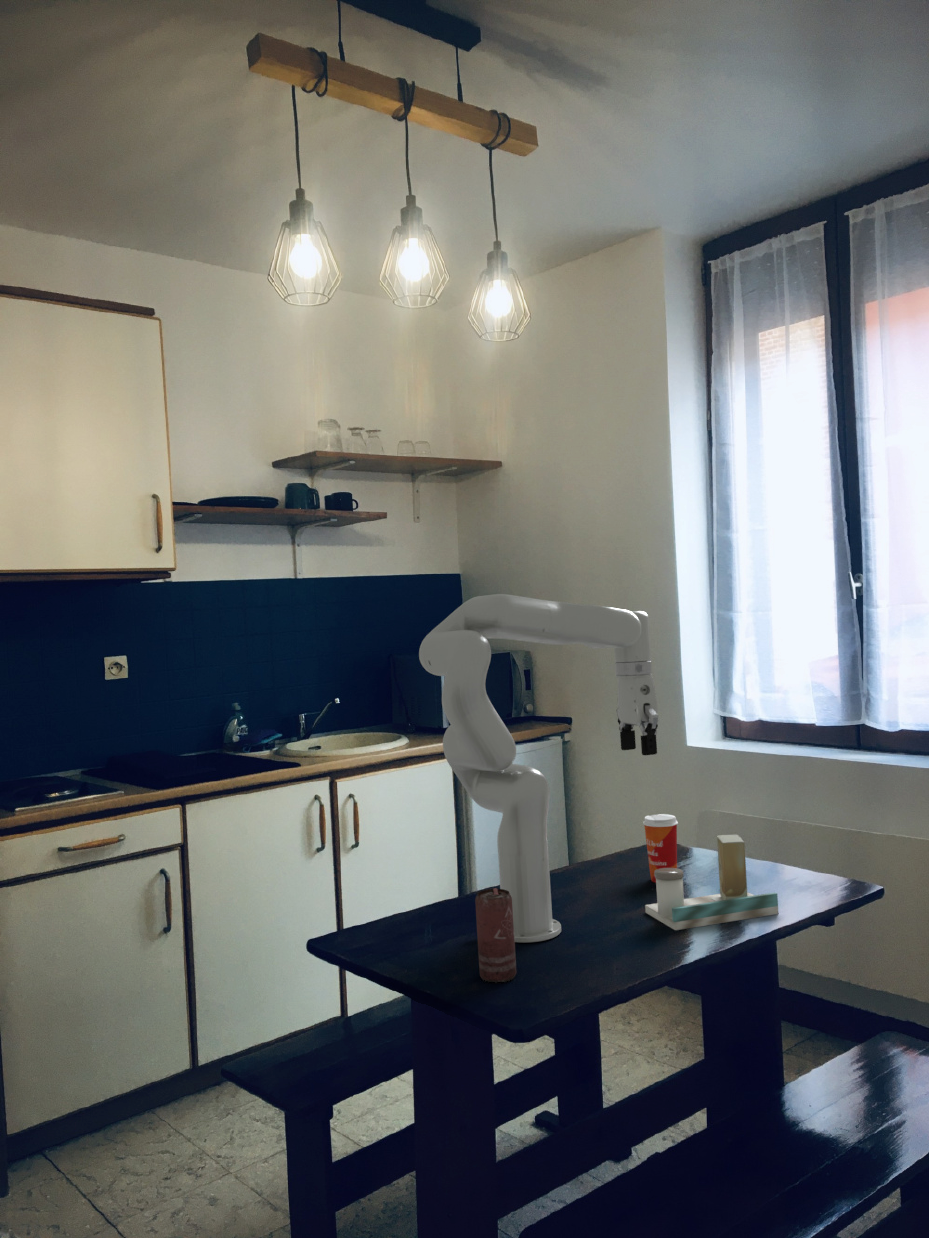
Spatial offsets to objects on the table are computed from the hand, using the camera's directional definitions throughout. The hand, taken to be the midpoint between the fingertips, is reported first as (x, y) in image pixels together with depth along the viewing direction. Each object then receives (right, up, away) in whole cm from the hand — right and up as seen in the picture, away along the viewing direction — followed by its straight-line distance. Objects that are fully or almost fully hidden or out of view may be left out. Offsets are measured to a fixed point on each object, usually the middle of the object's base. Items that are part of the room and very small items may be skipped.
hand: (638, 752), depth 196 cm
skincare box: (+17, -28, -11) cm, 34 cm away
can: (-31, -32, -40) cm, 59 cm away
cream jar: (+3, -29, -17) cm, 33 cm away
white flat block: (+12, -30, -13) cm, 34 cm away
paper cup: (+8, -30, +12) cm, 33 cm away
